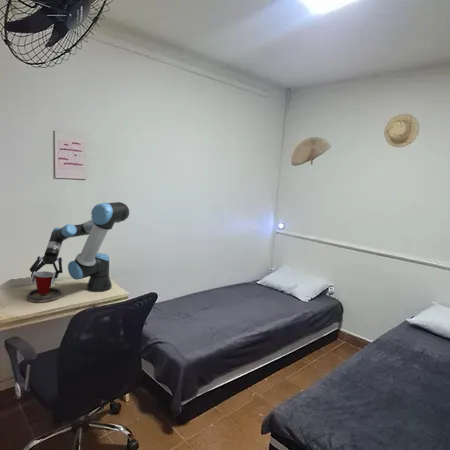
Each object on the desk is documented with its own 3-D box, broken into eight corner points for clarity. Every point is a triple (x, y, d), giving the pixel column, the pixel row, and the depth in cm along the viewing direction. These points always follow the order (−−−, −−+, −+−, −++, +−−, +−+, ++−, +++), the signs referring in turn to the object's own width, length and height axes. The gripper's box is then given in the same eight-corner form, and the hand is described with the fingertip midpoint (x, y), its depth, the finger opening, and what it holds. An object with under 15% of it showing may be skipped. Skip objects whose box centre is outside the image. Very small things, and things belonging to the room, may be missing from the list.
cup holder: (66, 291, 207) (66, 287, 207) (54, 303, 189) (54, 299, 189) (35, 290, 205) (35, 286, 205) (20, 302, 187) (20, 298, 187)
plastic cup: (57, 293, 198) (57, 274, 196) (37, 297, 190) (37, 277, 188) (49, 288, 205) (50, 269, 203) (30, 291, 197) (31, 272, 195)
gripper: (73, 254, 210) (64, 286, 197) (35, 252, 208) (23, 284, 195) (70, 248, 204) (61, 280, 191) (31, 246, 202) (18, 279, 189)
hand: (42, 282), depth 193 cm, fingers closed on plastic cup, 11 cm apart
